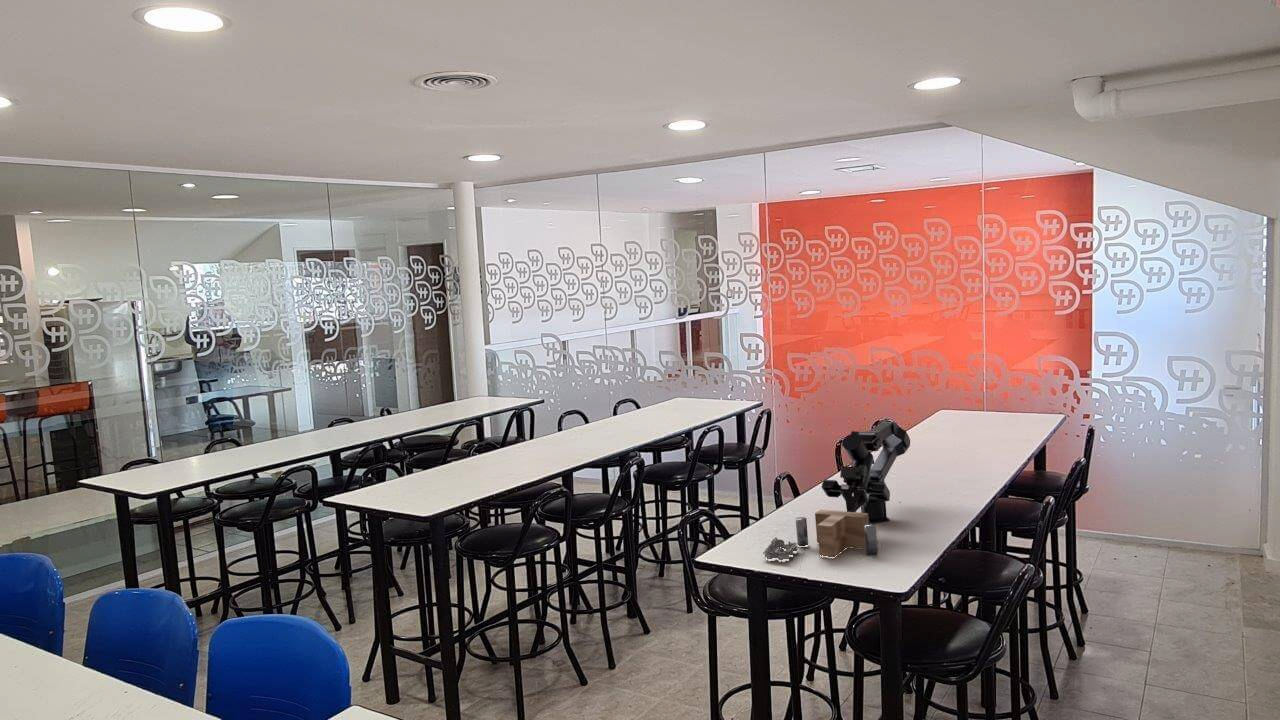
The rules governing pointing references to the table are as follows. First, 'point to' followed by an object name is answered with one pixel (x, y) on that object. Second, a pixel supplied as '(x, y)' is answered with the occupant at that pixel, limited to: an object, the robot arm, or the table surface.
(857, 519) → the walnut T block
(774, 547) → the grey jagged rock
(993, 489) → the table surface
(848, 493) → the robot arm
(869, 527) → the goal posts
